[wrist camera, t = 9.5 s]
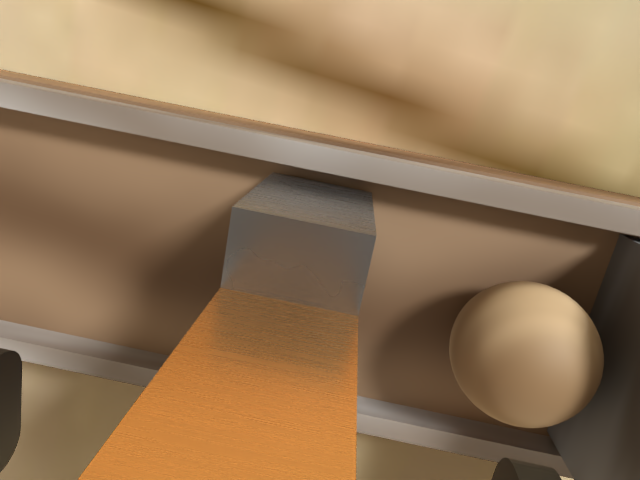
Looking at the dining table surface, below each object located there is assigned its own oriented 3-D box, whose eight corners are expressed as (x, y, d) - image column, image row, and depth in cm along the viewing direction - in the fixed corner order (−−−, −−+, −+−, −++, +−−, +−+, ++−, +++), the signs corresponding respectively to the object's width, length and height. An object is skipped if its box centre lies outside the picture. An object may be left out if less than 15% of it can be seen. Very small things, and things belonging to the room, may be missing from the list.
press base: (-209, 27, 17) (-657, -29, 10) (782, 226, 17) (1142, 336, 9) (-185, 270, 20) (-528, 378, 12) (677, 452, 19) (889, 690, 11)
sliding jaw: (273, 171, 15) (70, 341, 5) (371, 192, 15) (396, 412, 5) (241, 365, 17) (44, 804, 6) (329, 384, 17) (276, 859, 6)
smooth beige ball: (458, 250, 16) (489, 300, 12) (586, 276, 16) (660, 335, 12) (426, 363, 17) (445, 442, 13) (546, 389, 17) (601, 476, 13)
